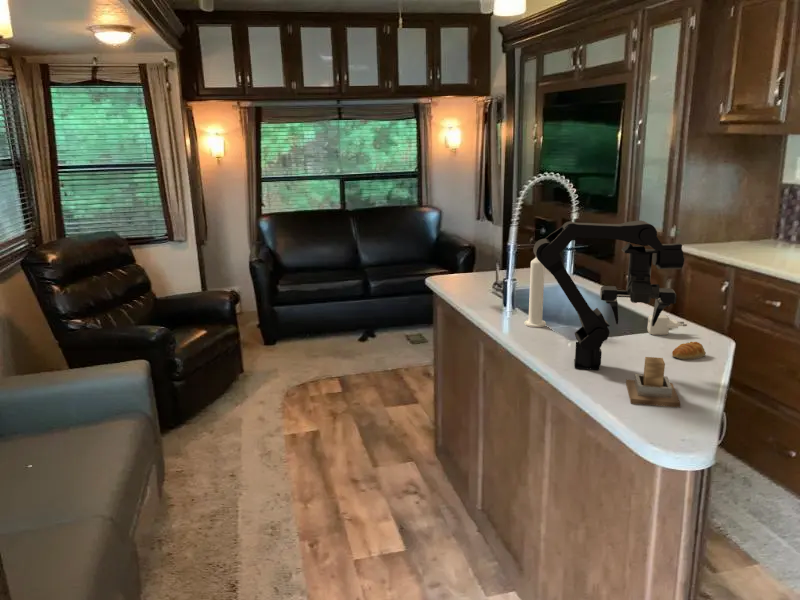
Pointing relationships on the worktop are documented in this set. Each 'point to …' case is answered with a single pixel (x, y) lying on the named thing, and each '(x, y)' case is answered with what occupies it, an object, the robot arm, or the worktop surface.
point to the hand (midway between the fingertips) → (634, 324)
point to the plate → (648, 400)
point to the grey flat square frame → (653, 388)
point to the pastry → (689, 351)
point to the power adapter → (662, 325)
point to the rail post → (653, 371)
